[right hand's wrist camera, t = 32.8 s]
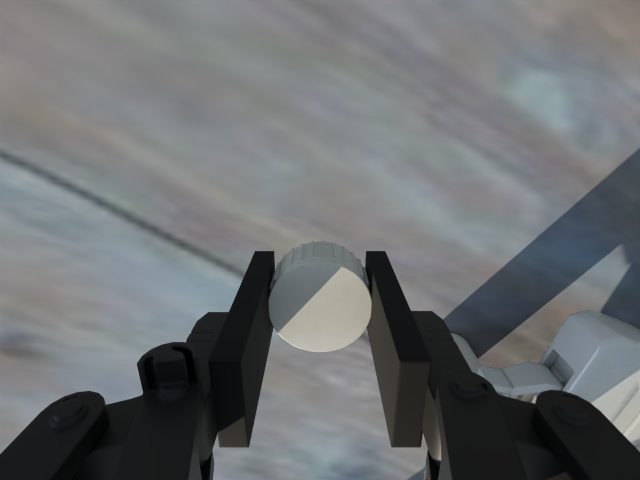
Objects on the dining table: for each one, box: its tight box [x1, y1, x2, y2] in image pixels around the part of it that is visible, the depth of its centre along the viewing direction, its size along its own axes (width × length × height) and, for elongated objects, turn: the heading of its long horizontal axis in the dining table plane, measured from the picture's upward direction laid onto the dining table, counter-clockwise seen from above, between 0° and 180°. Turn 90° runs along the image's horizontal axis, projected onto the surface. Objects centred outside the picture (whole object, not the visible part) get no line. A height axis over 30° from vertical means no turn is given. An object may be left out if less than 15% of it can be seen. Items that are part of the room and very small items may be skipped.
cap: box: [269, 241, 372, 352], centre depth 14 cm, size 4×4×2 cm
